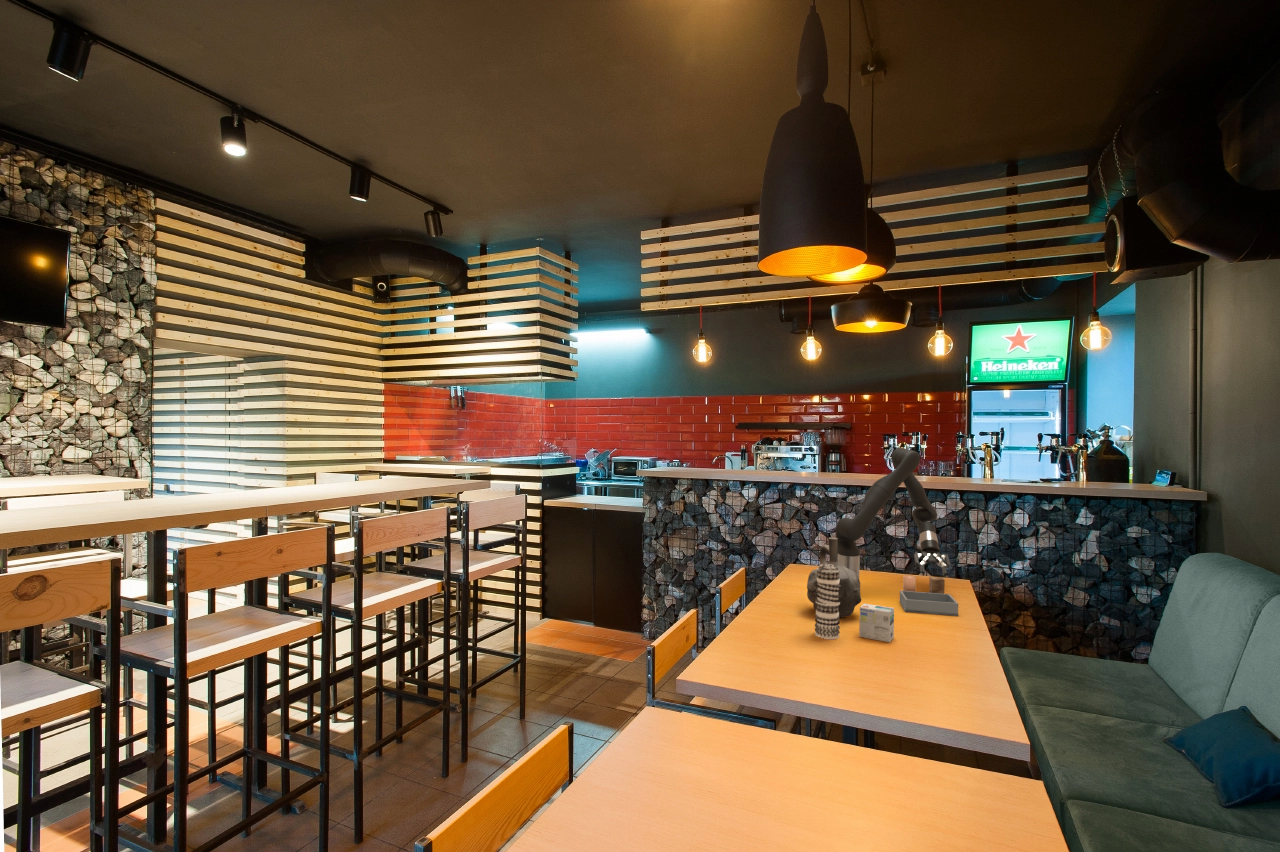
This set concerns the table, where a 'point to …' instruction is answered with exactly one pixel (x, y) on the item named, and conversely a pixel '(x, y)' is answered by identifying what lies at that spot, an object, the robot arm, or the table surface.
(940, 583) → the walnut block
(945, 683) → the table surface
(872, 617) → the light bulb box
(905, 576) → the terracotta cylinder
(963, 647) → the table surface
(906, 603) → the tote
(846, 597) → the vessel
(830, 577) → the black white tall cylinder
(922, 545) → the robot arm
